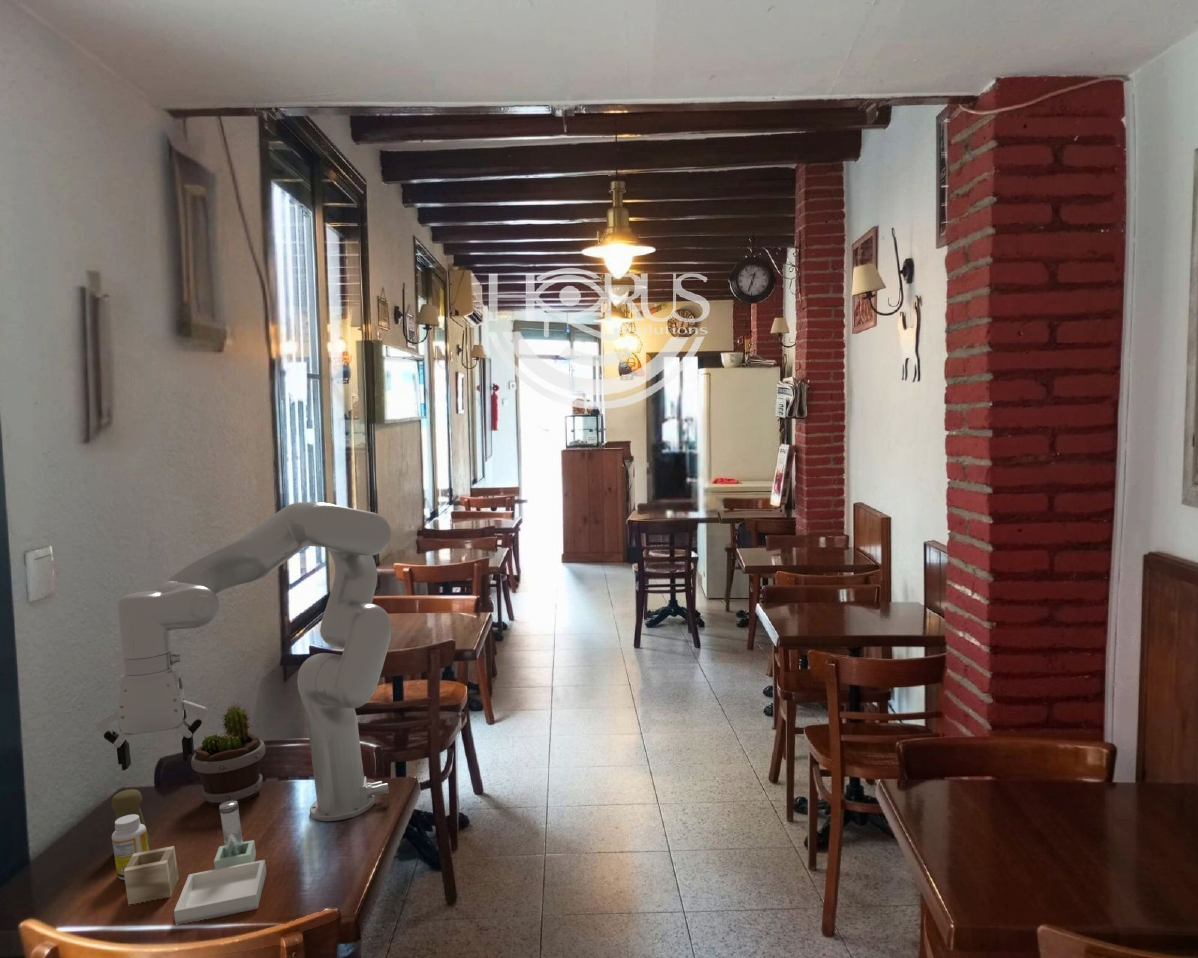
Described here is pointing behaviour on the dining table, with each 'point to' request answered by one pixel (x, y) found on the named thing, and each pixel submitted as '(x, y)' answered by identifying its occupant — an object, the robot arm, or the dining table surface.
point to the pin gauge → (231, 828)
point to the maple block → (151, 875)
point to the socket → (247, 857)
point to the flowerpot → (230, 761)
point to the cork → (129, 805)
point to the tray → (221, 892)
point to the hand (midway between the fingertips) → (157, 763)
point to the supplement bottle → (128, 841)
